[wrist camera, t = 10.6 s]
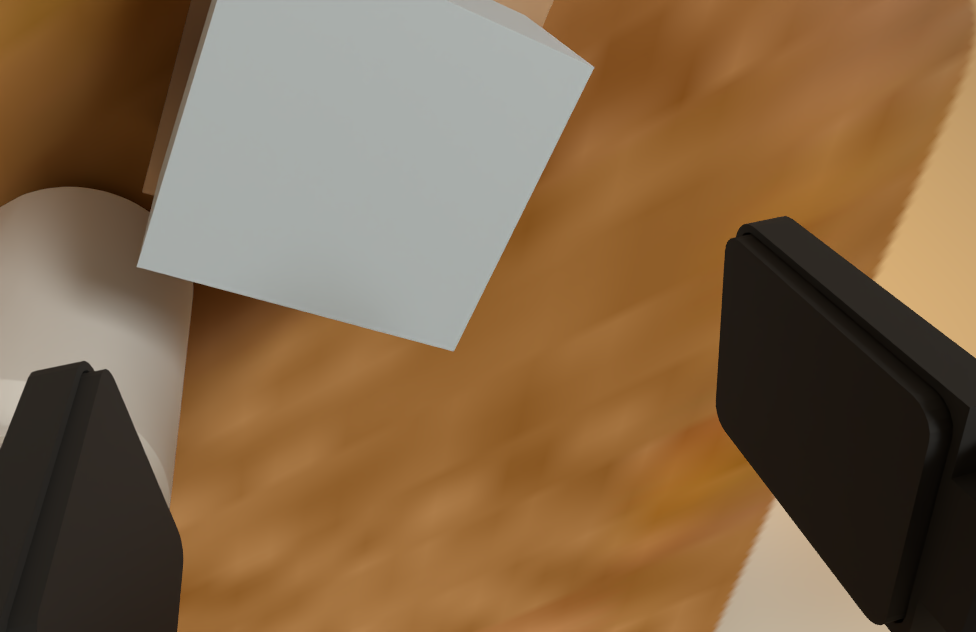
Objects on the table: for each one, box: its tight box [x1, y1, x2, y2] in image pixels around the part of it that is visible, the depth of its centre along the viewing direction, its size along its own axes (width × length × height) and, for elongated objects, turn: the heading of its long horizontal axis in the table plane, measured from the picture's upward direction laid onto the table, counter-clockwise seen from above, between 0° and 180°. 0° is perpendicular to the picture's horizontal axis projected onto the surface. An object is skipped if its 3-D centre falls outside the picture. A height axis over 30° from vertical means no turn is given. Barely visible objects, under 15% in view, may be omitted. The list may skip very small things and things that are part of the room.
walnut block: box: [142, 0, 554, 196], centre depth 23 cm, size 8×8×5 cm
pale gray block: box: [137, 0, 594, 351], centre depth 19 cm, size 7×7×5 cm
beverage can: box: [0, 187, 193, 510], centre depth 22 cm, size 6×6×12 cm
